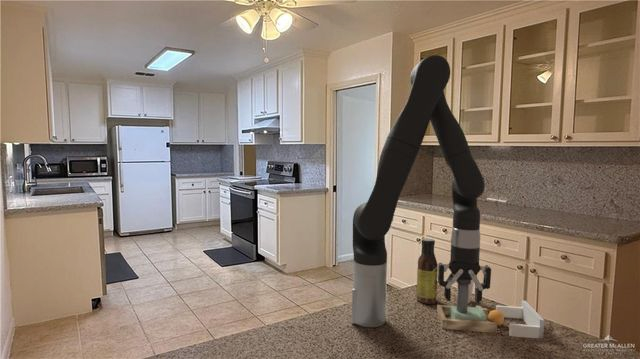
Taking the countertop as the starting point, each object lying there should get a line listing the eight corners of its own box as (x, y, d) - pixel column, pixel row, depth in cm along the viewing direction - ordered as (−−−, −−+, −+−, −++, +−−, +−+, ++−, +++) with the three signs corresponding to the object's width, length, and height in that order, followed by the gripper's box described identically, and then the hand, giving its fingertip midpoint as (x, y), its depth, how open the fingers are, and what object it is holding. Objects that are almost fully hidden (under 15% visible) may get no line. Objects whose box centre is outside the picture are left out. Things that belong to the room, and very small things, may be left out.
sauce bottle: (439, 304, 123) (441, 242, 121) (419, 304, 123) (421, 242, 121) (433, 296, 129) (435, 237, 127) (414, 296, 129) (416, 237, 127)
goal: (510, 336, 103) (511, 317, 102) (495, 315, 116) (496, 298, 115) (542, 338, 102) (544, 320, 101) (524, 317, 115) (525, 300, 114)
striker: (454, 326, 108) (456, 281, 107) (450, 315, 115) (452, 273, 113) (485, 328, 107) (488, 283, 106) (479, 317, 113) (481, 275, 112)
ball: (490, 327, 108) (491, 313, 108) (486, 320, 112) (487, 307, 111) (505, 328, 107) (506, 314, 107) (501, 321, 111) (501, 308, 111)
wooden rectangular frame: (442, 328, 107) (442, 319, 106) (436, 312, 117) (437, 304, 117) (496, 332, 105) (497, 324, 104) (486, 316, 115) (486, 308, 115)
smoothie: (476, 305, 122) (478, 261, 121) (454, 303, 124) (456, 260, 122) (472, 298, 129) (474, 256, 127) (452, 296, 130) (454, 254, 129)
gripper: (440, 246, 106) (438, 304, 108) (496, 248, 104) (493, 308, 106) (436, 239, 114) (434, 294, 115) (488, 241, 112) (485, 298, 113)
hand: (462, 301), depth 110 cm, fingers open, 7 cm apart
